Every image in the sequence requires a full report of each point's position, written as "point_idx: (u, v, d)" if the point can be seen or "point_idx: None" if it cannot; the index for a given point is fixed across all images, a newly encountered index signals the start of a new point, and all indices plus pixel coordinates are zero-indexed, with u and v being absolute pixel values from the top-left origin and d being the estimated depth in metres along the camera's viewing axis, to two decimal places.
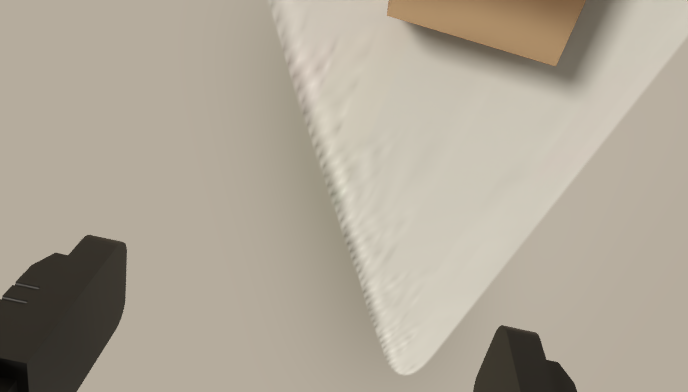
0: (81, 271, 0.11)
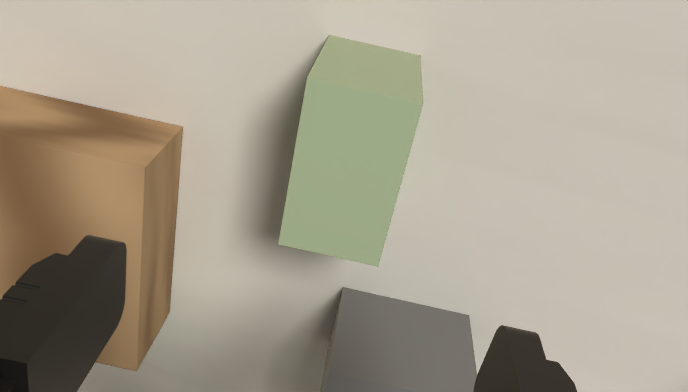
0: (81, 271, 0.11)
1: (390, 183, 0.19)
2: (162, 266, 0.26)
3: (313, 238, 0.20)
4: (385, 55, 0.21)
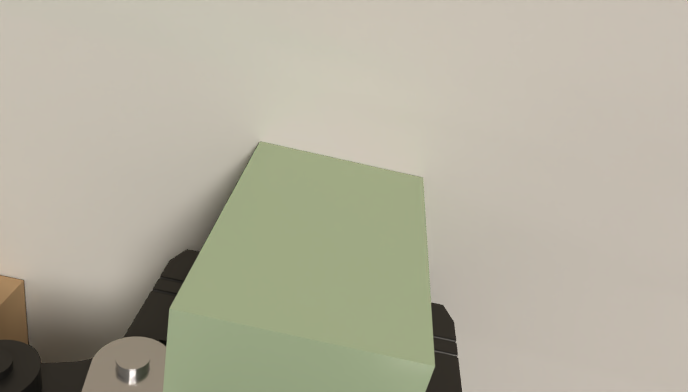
0: None
1: None
2: None
3: None
4: (358, 189, 0.12)
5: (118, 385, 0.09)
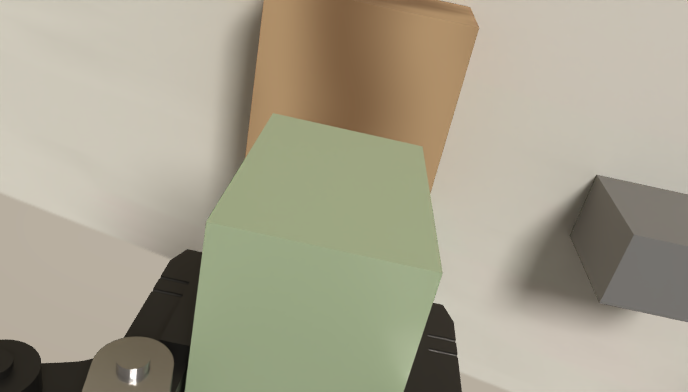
0: None
1: None
2: None
3: None
4: (365, 151, 0.13)
5: (118, 385, 0.09)
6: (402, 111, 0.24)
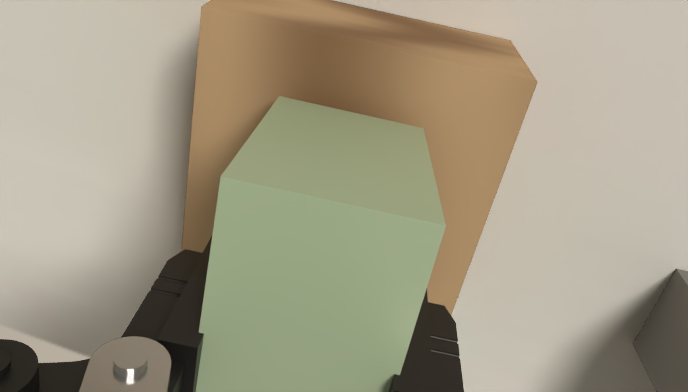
0: None
1: (382, 366, 0.10)
2: None
3: None
4: (368, 129, 0.13)
5: (115, 385, 0.09)
6: None
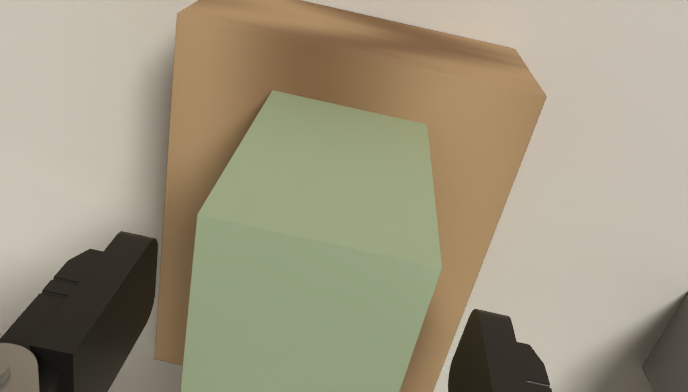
0: (117, 266, 0.11)
1: None
2: None
3: None
4: (367, 131, 0.12)
5: None
6: None
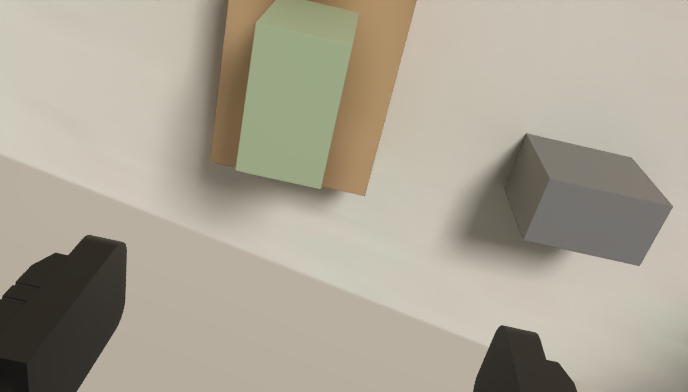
0: (81, 271, 0.11)
1: (328, 114, 0.23)
2: None
3: (265, 164, 0.24)
4: (327, 11, 0.25)
5: None
6: (353, 70, 0.27)
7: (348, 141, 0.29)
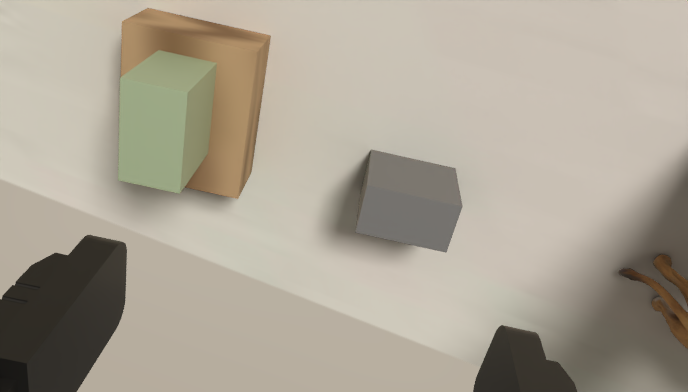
0: (81, 271, 0.11)
1: (178, 140, 0.32)
2: (253, 131, 0.40)
3: (138, 176, 0.33)
4: (189, 63, 0.34)
5: None
6: (217, 104, 0.36)
7: (220, 157, 0.38)
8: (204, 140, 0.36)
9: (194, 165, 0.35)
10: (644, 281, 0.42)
